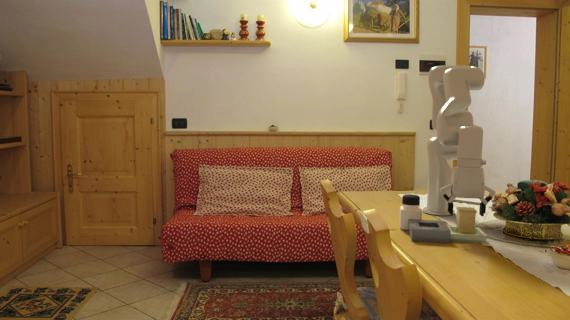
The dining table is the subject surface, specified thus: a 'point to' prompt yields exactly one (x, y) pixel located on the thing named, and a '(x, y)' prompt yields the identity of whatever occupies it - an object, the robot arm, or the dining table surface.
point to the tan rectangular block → (465, 220)
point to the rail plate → (429, 231)
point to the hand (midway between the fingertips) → (466, 214)
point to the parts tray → (468, 236)
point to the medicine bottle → (409, 210)
